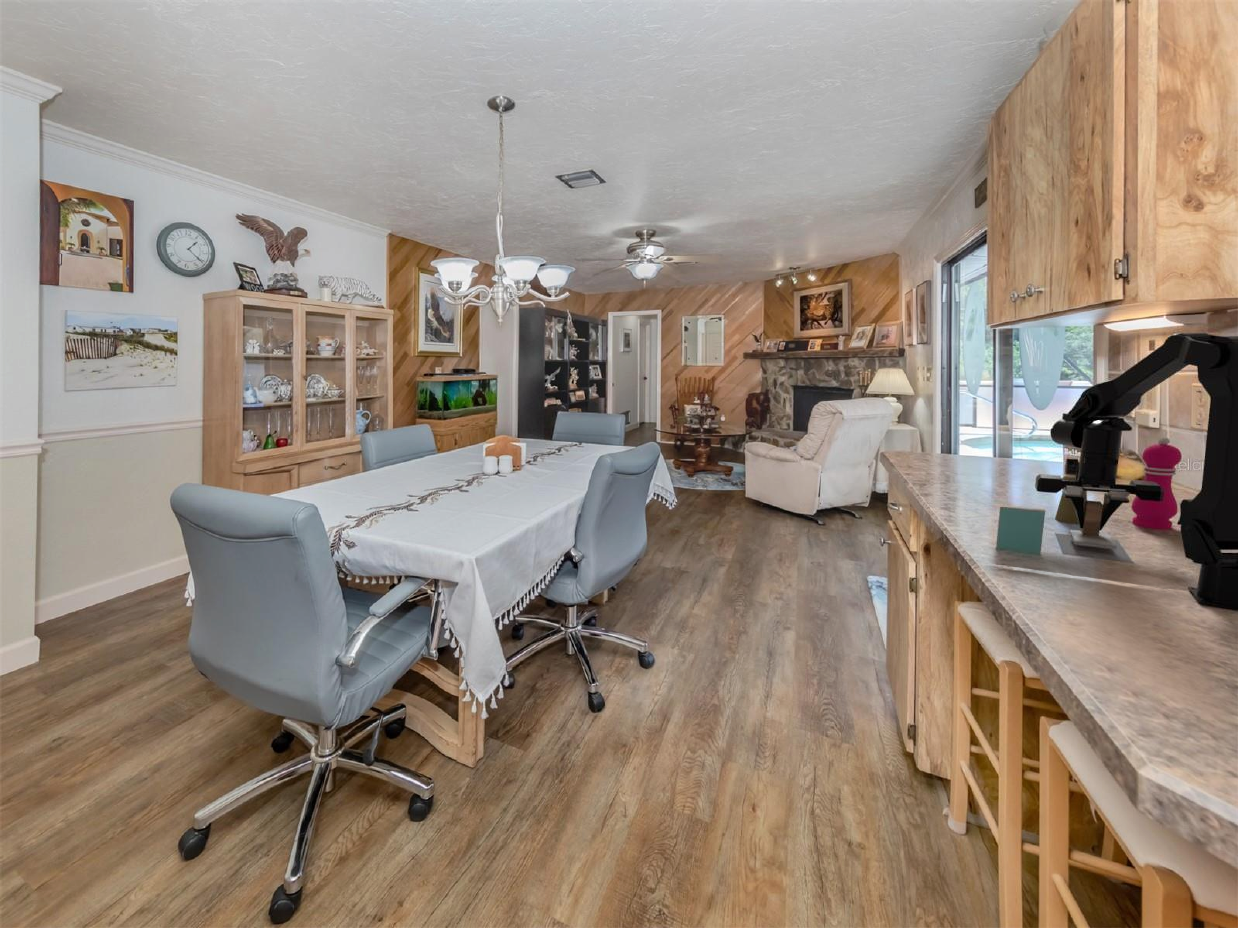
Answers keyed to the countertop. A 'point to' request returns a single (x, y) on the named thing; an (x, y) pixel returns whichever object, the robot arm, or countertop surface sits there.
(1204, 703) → the countertop surface
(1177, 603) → the countertop surface
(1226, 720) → the countertop surface
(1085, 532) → the brown post on base
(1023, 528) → the tile
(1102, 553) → the mat
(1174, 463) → the pepper mill
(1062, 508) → the cork
